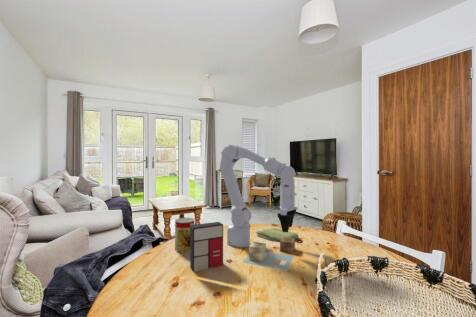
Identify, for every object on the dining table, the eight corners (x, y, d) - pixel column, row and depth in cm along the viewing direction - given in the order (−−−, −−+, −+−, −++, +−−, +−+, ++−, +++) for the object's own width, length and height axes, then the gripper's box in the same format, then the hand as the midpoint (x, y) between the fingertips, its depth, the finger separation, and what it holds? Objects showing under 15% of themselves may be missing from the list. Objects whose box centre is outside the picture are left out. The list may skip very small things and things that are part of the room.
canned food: (196, 250, 97) (196, 221, 97) (177, 253, 93) (177, 223, 93) (191, 243, 104) (191, 216, 104) (173, 246, 100) (173, 218, 100)
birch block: (248, 259, 85) (249, 246, 85) (253, 254, 90) (253, 241, 90) (262, 262, 83) (262, 248, 83) (266, 256, 88) (266, 243, 88)
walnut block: (279, 253, 93) (280, 241, 93) (282, 249, 98) (282, 237, 98) (292, 255, 91) (292, 242, 91) (294, 251, 96) (294, 239, 96)
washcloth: (271, 231, 124) (271, 225, 124) (300, 239, 111) (300, 233, 111) (254, 236, 116) (254, 229, 116) (282, 246, 102) (282, 239, 102)
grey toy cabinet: (193, 274, 76) (193, 228, 76) (189, 269, 80) (189, 225, 80) (224, 267, 81) (224, 224, 81) (219, 262, 85) (219, 221, 85)
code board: (242, 264, 83) (242, 262, 83) (254, 251, 95) (254, 249, 95) (286, 273, 77) (287, 270, 77) (293, 258, 89) (293, 255, 89)
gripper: (294, 199, 87) (294, 235, 87) (300, 194, 100) (299, 225, 100) (275, 197, 89) (275, 233, 89) (283, 193, 103) (283, 223, 103)
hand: (287, 229), depth 95 cm, fingers open, 7 cm apart
